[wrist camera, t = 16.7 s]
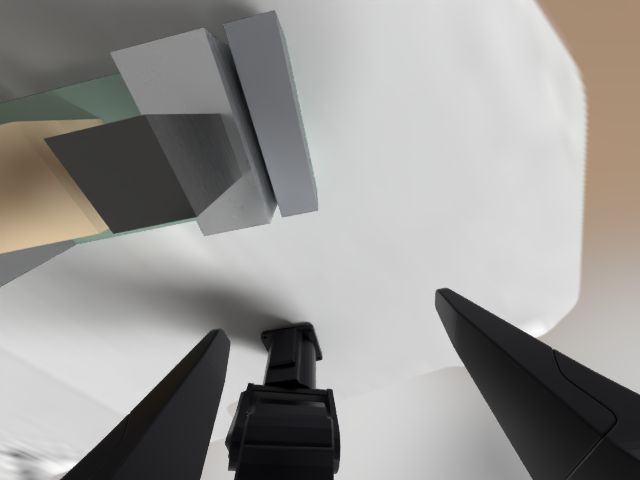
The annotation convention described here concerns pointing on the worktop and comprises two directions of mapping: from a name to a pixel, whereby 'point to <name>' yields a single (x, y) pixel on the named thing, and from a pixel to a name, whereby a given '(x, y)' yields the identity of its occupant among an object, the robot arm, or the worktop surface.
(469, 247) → the worktop surface
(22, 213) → the block
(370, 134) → the worktop surface
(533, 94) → the worktop surface
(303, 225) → the worktop surface
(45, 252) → the press frame
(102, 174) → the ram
